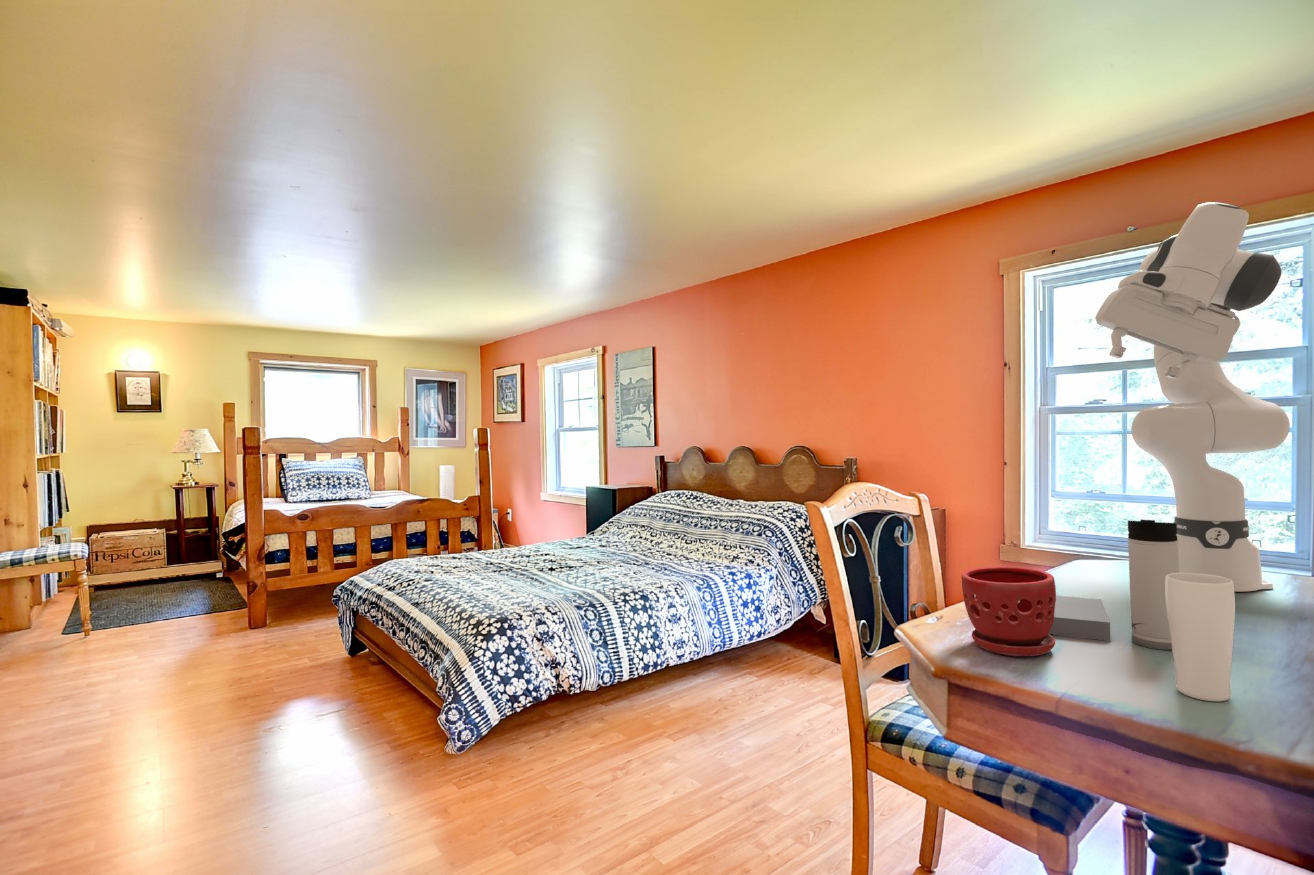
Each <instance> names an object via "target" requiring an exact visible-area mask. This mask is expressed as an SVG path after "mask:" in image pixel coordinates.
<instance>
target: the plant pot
mask: <svg viewBox="0 0 1314 875" xmlns="http://www.w3.org/2000/svg"><path fill="white" fill-rule="evenodd" d="M960 578H961V589H962V596H963V602H964V606H965V610H966V613H967V615H968V617H969V620H970V623H971V625H972V626H973V627H974V630H973V631H972V632H971V638H972V639H973V640H972V641H974V642H975V644H977V645H978V646H979V647H980V648H983V649H984V650H986V651H989V652H992V653H995V654H998V655H999V654H1000V655H1005V656H1008V657H1013V658H1014V657H1036V656H1040V655H1044V654H1046V653H1049V652H1050V651H1051V650H1052V649H1053V648H1054V647H1055V645H1056V639H1055V637H1054V636H1053V635H1051V634H1048V633H1049V631H1050V629H1051V627H1052V625H1053V621H1054V612H1055V602H1056V596H1057V590H1056V589H1057V588H1056V580H1055V577H1054V575H1052V574H1051V573H1049V572H1047V571H1043V570H1039V569H1033V568H1027V567H1017V566H1014V567H1013V566H992V567H977V568H972V569H968V570H966V571H964V572H961V577H960ZM1019 601H1020V602H1019ZM1018 602H1019V603H1018Z"/></svg>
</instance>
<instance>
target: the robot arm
mask: <svg viewBox="0 0 1314 875" xmlns="http://www.w3.org/2000/svg"><path fill="white" fill-rule="evenodd" d="M1249 214H1250V213H1249V212H1248V211H1246V210H1245V208H1242V207H1240V206H1237V205H1233V204H1228V203H1222V202H1205V203H1201V204H1198V205H1197V206H1196V207H1195V208H1194V209H1193V210H1192V212H1191V214H1190V215H1189V216H1188V218H1187V219H1186V220H1185V222H1184V224H1183V225H1182V226H1181V229H1180V230H1179V232H1178V234H1175V235H1173V236H1170V237H1169V238H1167V239H1164V240H1163V241H1161V242H1160V243H1159V244H1158V247H1157V248H1155V249H1153V250H1152V251H1150V252H1149V253H1148V254H1147V255H1146V256H1145V257H1144V258H1143V260H1142V262H1141V264H1140V267H1139V270H1138V271H1137V272H1133V273H1131V274H1129V275H1127V276H1125V277H1124V278H1123V279H1122V280H1120V282H1119V283H1118V286H1117V289H1116V290H1114V291H1112V292H1111V293H1110V294H1109V295H1108V296H1107V297H1106V298H1105V300H1104V302H1103V303H1102V304H1101V306H1100V308H1099V309H1098V311H1097V314H1096V315H1095V322H1096V324H1097V325H1099V326H1102V327H1105V328H1108V329H1109V330H1112V333H1110V334H1111V335H1110V339H1111V346H1112V348H1111V350H1110V352H1109V355H1108V356H1110V357H1113V358H1115V359H1121V358H1122V357H1123V356H1124V353H1125V352H1126V350H1127V347H1124V346H1123V344H1122V338H1123V337H1126V336H1128V337H1132V338H1134V339H1138V340H1140V341H1142V342H1146V343H1148V344H1151V345H1153V361H1154V367H1155V371H1156V374H1157V377H1158V378H1157V379H1158V382H1159V384H1160V388H1161V392H1162V394H1163V396H1164V397H1165V398H1166V399H1167V400H1168V401H1169V402H1171V403H1166V404H1165V403H1164V404H1161V405H1155V406H1152V407H1147V408H1142V409H1141V410H1140V411H1139V412H1138V413H1137V414H1136V415H1135V416H1134V419H1133V421H1132V423H1131V427H1130V428H1131V429H1130V430H1131V431H1130V432H1131V435H1132V439H1133V440H1134V443H1136V446H1138V447H1139V448H1140V449H1141V450H1142V451H1144V452H1146V453H1148V454H1150V455H1151V456H1152V457H1153V458H1155V459H1157V461H1158V462H1160V463H1161V464H1162V466H1163V467H1164V468H1165V469H1166V471H1167V472H1168V475H1169V476H1170V478H1171V481H1172V484H1173V490H1174V496H1175V505H1176V506H1175V508H1176V509H1175V510H1176V516H1174V522H1173V523H1177V534H1176V536H1177V540H1178V544H1177V545H1178V553H1179V573H1198V574H1208V575H1215V576H1220V577H1224V578H1228V579H1230V580H1232V581H1233V587H1234V592H1242V593H1243V592H1253V591H1258V590H1272V589H1274V586H1273V583H1272V582H1270V581H1267V580H1264V579H1263V574H1262V573H1263V572H1262V564H1261V557H1260V556H1261V554H1260V548H1259V547H1258V546H1256V545H1255V544H1254V543H1252V542H1251V541H1250V540H1249V539H1248V537H1250V525H1249V520H1247V519H1246V505H1245V504H1246V502H1245V501H1246V500H1245V487H1244V485H1243V483H1242V482H1241V480H1240V479H1239V478H1237V477H1236V476H1235V475H1233V474H1232V473H1229V472H1226V471H1223V470H1221V469H1218V468H1215V467H1212V466H1211V465H1210V464H1209V463H1208V461H1207V456H1206V455H1209V454H1239V453H1240V454H1243V453H1244V454H1248V453H1253V452H1254V453H1255V452H1259V451H1261V452H1262V451H1266V450H1272V449H1276V448H1278V447H1279V446H1280V445H1282V444H1283V442H1284V441H1285V440H1286V439H1287V437H1288V436H1289V432H1290V428H1291V426H1290V424H1291V423H1290V419H1289V417H1288V415H1287V412H1286V411H1285V410H1284V409H1283V408H1281V406H1279V405H1278V404H1277V403H1274V402H1270V401H1268V400H1267V401H1266V400H1263V399H1261V398H1258V397H1255V396H1253V395H1250V393H1247V392H1246V391H1243V390H1242V389H1240V388H1239V387H1237V386H1236V385H1234V384H1233V383H1232V382H1231V381H1230V380H1229V379H1228V378H1227V376H1226V374H1225V373H1224V370H1223V369H1222V366H1221V364H1220V361H1222V360H1224V359H1226V356H1227V355H1228V353H1229V350H1230V347H1231V344H1232V342H1233V339H1234V336H1235V335H1236V334H1237V332H1238V330H1239V328H1240V326H1241V321H1240V318H1239V317H1238V316H1237V315H1236V313H1235V312H1234V311H1232V310H1235V311H1237V312H1241V311H1245V310H1248V309H1249V310H1250V309H1252V308H1255V307H1256V306H1259V305H1261V304H1262V303H1264V302H1265V301H1266V300H1267V299H1269V297H1270V296H1271V295H1272V294H1273V293H1274V290H1275V289H1276V287H1277V286H1278V285H1279V282H1280V279H1281V277H1282V272H1283V271H1282V268H1281V266H1280V263H1279V262H1278V260H1277V258H1276V257H1275V256H1274V254H1268V253H1262V252H1261V253H1260V252H1252V251H1247V250H1242V249H1239V248H1240V247H1239V246H1240V244H1241V242H1242V240H1243V237H1244V234H1245V231H1246V229H1247V227H1248V226H1247V225H1248V223H1249V220H1250V219H1249V217H1250V215H1249Z"/></svg>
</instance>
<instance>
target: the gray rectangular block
mask: <svg viewBox="0 0 1314 875" xmlns="http://www.w3.org/2000/svg"><path fill="white" fill-rule="evenodd" d="M1019 602H1020V601H1019ZM1019 602H1018V603H1019ZM1048 634H1049V635H1051V634H1053V635H1054V636H1063V637H1070V638H1071V637H1072V638H1078V639H1079V638H1080V639H1089V640H1090V639H1091V640H1099V641H1107V642H1108V641H1109V642H1111V641H1112V640H1111V621H1110V619H1109V616H1108V614H1107V611H1106V608H1105V605H1104V603H1103V601H1102V598H1091V597H1089V598H1088V597H1078V596H1077V597H1076V596H1068V595H1067V596H1066V595H1065V596H1064V595H1056V602H1055V612H1054V621H1053V625H1052V627H1051V629H1050V631H1049V633H1048ZM1053 635H1052V636H1053Z"/></svg>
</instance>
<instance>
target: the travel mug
mask: <svg viewBox="0 0 1314 875" xmlns="http://www.w3.org/2000/svg"><path fill="white" fill-rule="evenodd" d="M1127 531H1128V535H1127V540H1128V542H1127V544H1128V548H1127V549H1128V570H1129V571H1128V573H1129V575H1128V576H1129V577H1128V578H1129V596H1130V600H1129V601H1130V621H1131V623H1130V624H1131V626H1130V627H1131V640H1132V642H1133V643H1135V644H1136V645H1138V644H1139V646H1142V647H1145V648H1149V649H1154V650H1162V651H1172V645H1171V638H1170V632H1169V625H1168V618H1167V611H1166V600H1165V576H1166V575H1167V574H1171V573H1179V553H1178V545H1177V544H1178V540H1177V536H1176V534H1177V523H1174V522H1165V521H1164V522H1159V521H1158V522H1157V521H1156V520H1155V519H1140V520H1127Z"/></svg>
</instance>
